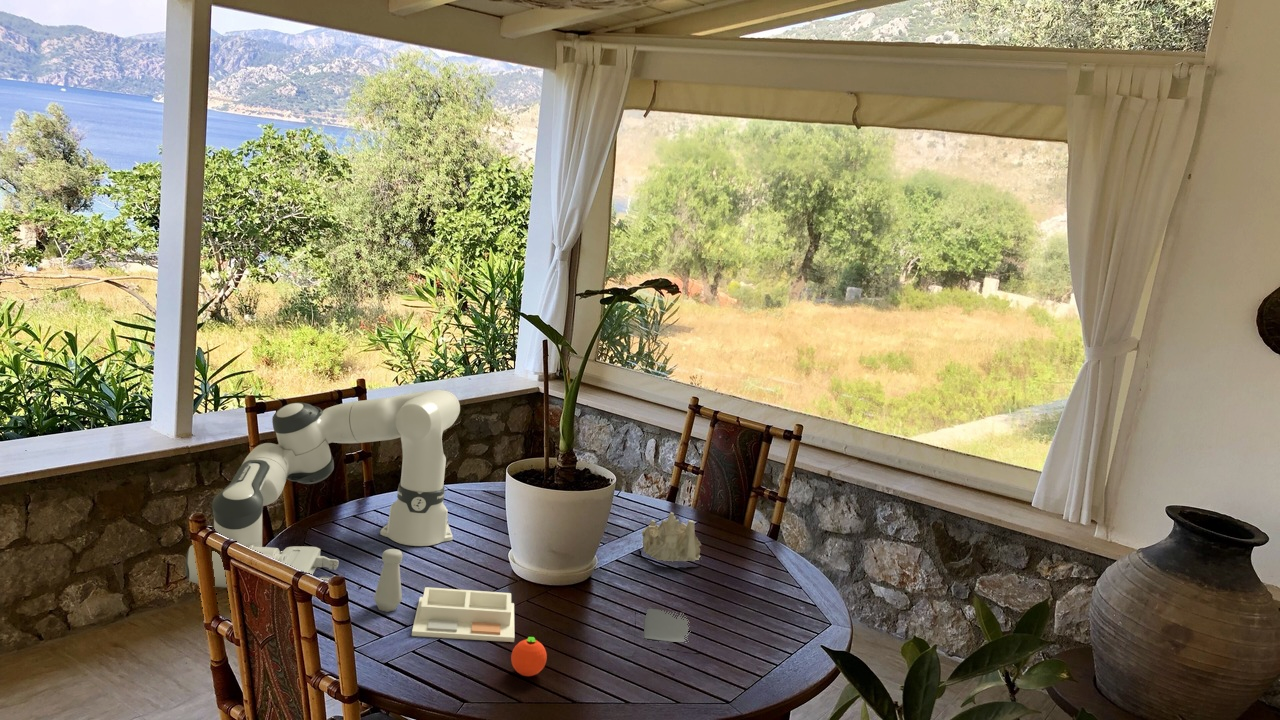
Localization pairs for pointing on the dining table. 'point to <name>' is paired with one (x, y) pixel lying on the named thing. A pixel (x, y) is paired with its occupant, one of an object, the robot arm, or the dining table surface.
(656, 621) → the wallet
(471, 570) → the dining table surface
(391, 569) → the salt shaker
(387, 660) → the dining table surface
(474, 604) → the divided organizer tray
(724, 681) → the dining table surface
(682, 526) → the sand castle
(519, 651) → the clementine
